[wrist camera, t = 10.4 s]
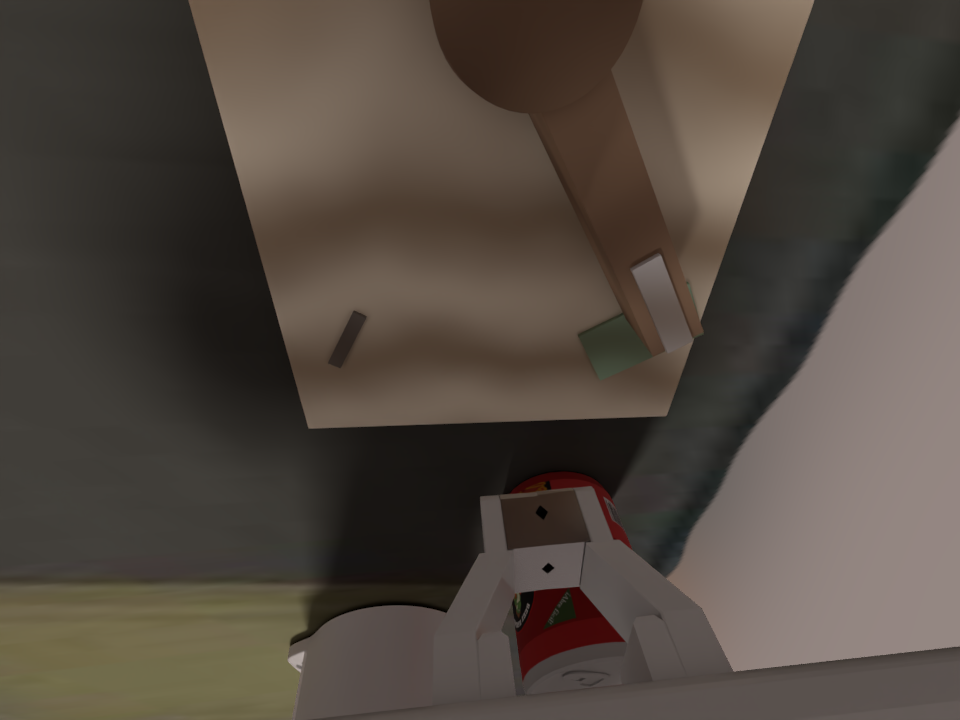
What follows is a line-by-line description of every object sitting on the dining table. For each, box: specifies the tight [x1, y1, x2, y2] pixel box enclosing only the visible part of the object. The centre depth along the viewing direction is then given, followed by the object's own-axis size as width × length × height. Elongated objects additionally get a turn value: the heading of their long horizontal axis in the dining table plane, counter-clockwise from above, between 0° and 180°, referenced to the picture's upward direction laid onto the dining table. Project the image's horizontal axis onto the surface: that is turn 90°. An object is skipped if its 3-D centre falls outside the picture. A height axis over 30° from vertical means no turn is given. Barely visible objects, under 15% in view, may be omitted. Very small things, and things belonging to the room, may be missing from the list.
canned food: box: [510, 472, 632, 695], centre depth 26 cm, size 8×8×11 cm
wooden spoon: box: [429, 0, 704, 357], centre depth 14 cm, size 14×5×4 cm, turn 31°
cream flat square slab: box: [188, 0, 814, 429], centre depth 18 cm, size 20×19×2 cm
